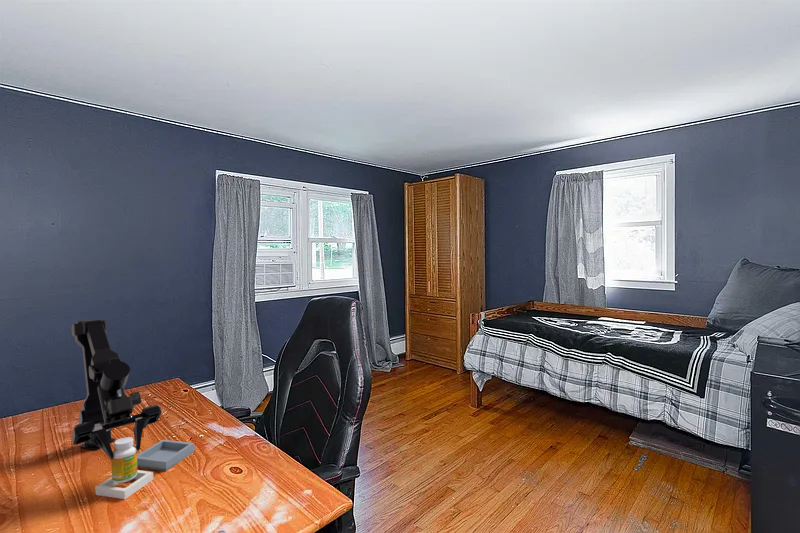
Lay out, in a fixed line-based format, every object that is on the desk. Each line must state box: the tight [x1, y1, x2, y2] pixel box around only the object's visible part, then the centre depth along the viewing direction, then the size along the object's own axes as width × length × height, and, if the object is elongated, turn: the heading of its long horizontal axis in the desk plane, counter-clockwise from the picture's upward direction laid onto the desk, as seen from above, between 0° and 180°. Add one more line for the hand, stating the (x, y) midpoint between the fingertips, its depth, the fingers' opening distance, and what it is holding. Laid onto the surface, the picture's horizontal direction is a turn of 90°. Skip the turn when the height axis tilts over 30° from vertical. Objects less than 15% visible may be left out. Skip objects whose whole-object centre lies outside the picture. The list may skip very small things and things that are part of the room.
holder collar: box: [95, 469, 154, 500], centre depth 104 cm, size 9×9×2 cm
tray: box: [137, 439, 196, 472], centre depth 117 cm, size 11×11×2 cm
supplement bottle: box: [110, 436, 138, 484], centre depth 103 cm, size 5×5×10 cm
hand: (125, 454), depth 102 cm, fingers closed on supplement bottle, 5 cm apart
